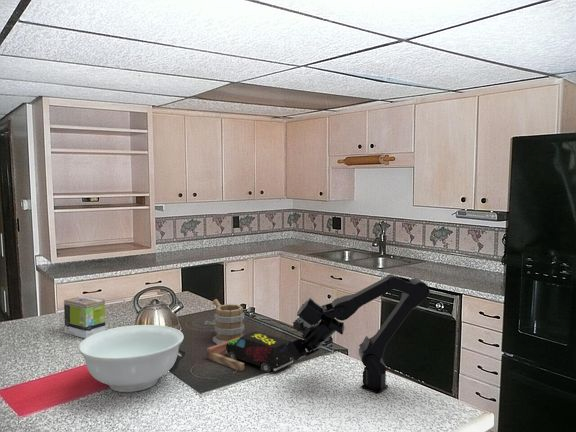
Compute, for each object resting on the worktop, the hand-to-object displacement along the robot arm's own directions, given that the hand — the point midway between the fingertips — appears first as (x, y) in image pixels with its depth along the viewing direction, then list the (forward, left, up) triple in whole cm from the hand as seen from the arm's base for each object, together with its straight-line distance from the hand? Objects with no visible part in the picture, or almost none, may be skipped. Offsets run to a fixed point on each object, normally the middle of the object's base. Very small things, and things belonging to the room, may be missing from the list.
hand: (296, 356), depth 161 cm
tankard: (+47, -11, -7) cm, 48 cm away
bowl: (+38, +38, -7) cm, 54 cm away
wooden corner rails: (+26, 0, -7) cm, 27 cm away
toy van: (+18, -1, -7) cm, 20 cm away
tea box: (+97, +24, -7) cm, 100 cm away
